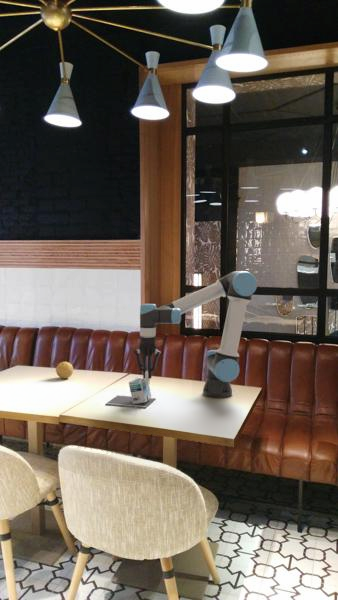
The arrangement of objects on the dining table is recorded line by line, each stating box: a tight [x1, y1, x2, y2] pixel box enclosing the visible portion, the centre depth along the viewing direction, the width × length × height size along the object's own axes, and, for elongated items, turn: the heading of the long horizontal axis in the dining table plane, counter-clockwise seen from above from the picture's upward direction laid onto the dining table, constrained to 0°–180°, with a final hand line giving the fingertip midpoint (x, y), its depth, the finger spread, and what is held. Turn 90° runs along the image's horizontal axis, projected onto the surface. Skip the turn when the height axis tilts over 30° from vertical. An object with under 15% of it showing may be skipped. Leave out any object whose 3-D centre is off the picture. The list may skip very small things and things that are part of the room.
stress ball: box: [55, 361, 74, 380], centre depth 280 cm, size 10×10×10 cm
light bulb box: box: [128, 376, 152, 404], centre depth 230 cm, size 11×7×11 cm, turn 167°
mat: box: [105, 394, 156, 409], centre depth 232 cm, size 20×16×1 cm
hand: (147, 385), depth 229 cm, fingers closed
